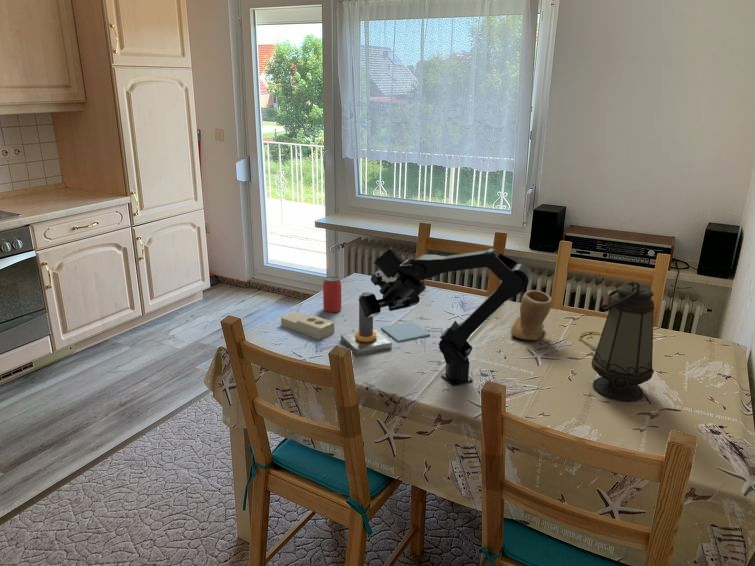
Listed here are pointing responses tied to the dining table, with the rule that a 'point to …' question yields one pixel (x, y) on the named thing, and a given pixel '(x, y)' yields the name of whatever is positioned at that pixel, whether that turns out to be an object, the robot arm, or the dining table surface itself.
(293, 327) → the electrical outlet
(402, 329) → the mat
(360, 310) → the plug
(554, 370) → the dining table surface
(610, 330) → the lantern
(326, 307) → the beer can
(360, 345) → the socket block
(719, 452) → the dining table surface
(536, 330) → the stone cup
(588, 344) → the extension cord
